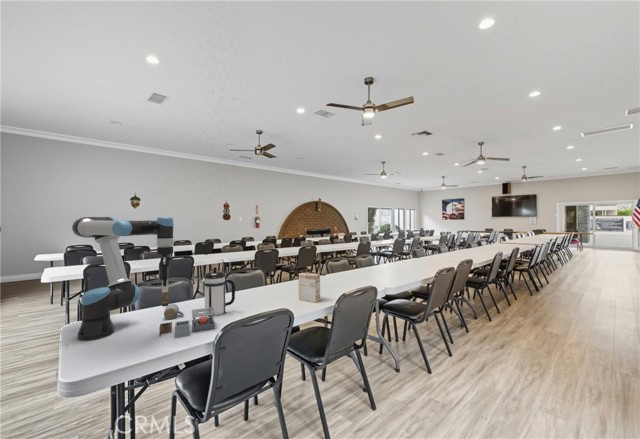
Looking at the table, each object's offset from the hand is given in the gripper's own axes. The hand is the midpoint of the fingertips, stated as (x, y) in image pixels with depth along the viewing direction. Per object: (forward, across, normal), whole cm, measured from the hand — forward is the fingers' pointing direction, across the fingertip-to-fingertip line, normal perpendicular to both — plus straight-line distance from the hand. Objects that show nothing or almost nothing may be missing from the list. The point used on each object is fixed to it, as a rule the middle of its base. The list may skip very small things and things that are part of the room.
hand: (165, 291), depth 150 cm
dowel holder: (+22, 0, 0) cm, 22 cm away
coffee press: (+23, +20, -27) cm, 41 cm away
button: (+21, -2, -18) cm, 28 cm away
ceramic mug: (+23, +27, -3) cm, 36 cm away
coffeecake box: (+22, +25, -92) cm, 98 cm away
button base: (+22, -2, -18) cm, 29 cm away
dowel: (+8, 0, 0) cm, 8 cm away
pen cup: (+22, -8, -8) cm, 25 cm away
